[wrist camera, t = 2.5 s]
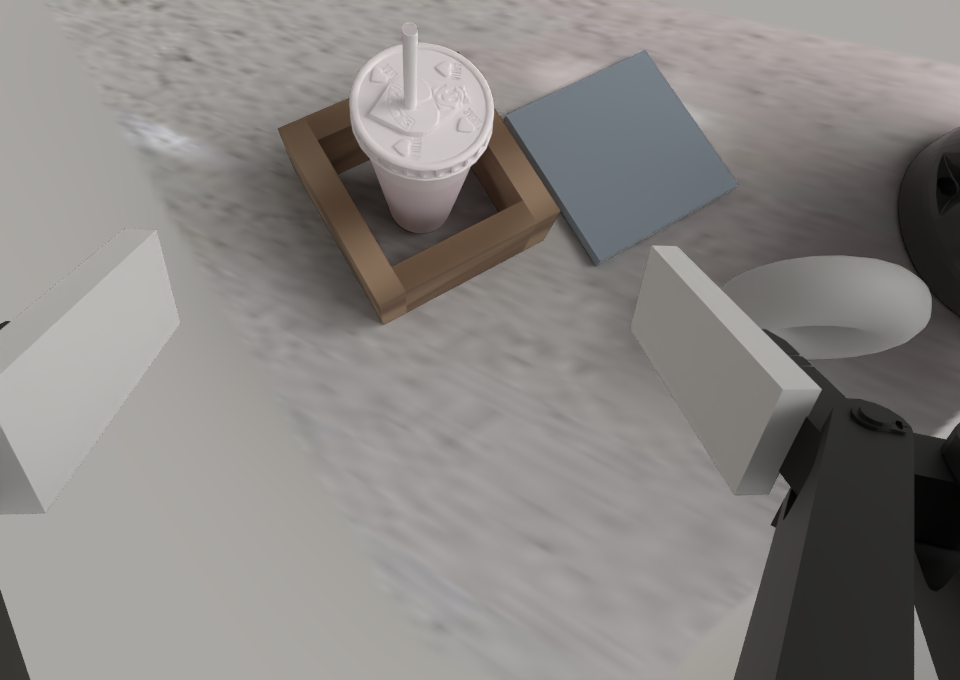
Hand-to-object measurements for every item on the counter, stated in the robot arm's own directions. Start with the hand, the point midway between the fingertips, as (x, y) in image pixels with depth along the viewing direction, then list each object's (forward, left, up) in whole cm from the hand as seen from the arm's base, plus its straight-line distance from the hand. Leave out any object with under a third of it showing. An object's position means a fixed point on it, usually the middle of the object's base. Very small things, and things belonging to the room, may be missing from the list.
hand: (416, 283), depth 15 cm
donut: (-8, -19, -16) cm, 27 cm away
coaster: (+6, -18, -16) cm, 25 cm away
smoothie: (+9, -5, -16) cm, 19 cm away
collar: (+9, -5, -16) cm, 19 cm away
